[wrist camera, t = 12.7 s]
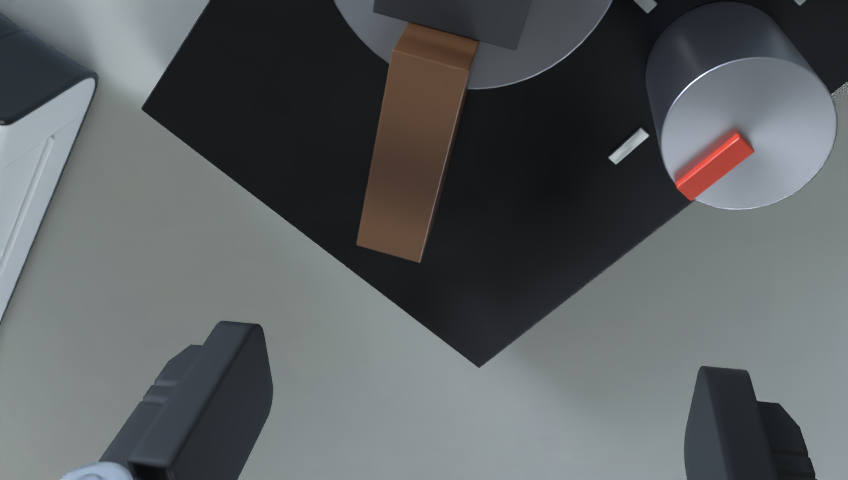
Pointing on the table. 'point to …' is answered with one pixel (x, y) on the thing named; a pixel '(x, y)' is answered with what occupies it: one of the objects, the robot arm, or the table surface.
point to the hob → (454, 151)
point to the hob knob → (737, 108)
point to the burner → (495, 66)
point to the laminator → (33, 139)
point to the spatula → (426, 112)
